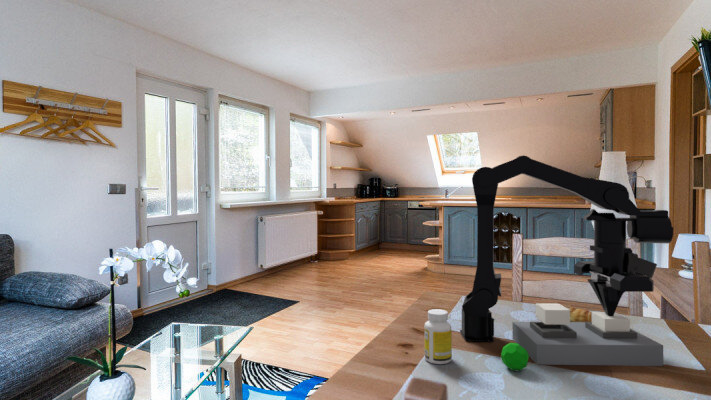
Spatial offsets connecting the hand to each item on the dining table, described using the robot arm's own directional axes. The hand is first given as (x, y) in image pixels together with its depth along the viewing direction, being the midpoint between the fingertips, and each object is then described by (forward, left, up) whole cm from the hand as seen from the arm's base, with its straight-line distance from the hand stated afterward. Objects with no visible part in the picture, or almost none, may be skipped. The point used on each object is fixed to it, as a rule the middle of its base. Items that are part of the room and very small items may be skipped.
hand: (609, 315), depth 85 cm
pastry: (+4, +19, -8) cm, 21 cm away
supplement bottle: (-37, -5, -8) cm, 38 cm away
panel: (-6, 0, -8) cm, 10 cm away
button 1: (-12, 0, -1) cm, 12 cm away
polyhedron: (-23, -9, -8) cm, 26 cm away
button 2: (0, 0, -3) cm, 3 cm away
